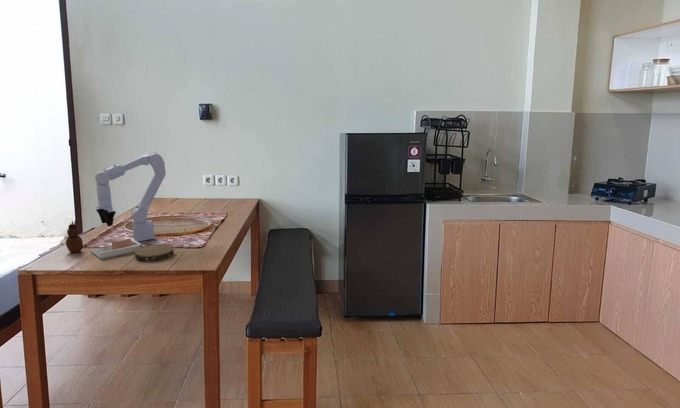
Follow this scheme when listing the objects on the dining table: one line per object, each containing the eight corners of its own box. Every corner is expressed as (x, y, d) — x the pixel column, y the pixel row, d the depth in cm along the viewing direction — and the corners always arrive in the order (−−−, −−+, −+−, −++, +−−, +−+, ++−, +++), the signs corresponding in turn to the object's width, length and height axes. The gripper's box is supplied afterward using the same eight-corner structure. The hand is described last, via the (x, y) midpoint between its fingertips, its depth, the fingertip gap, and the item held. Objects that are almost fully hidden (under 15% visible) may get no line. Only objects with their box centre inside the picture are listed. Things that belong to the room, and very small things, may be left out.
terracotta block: (112, 250, 220) (111, 239, 218) (128, 247, 224) (127, 236, 223) (115, 252, 216) (114, 241, 215) (131, 249, 221) (130, 238, 220)
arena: (130, 243, 232) (129, 237, 231) (142, 250, 221) (142, 244, 220) (90, 251, 220) (89, 245, 219) (101, 259, 209) (100, 252, 208)
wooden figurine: (85, 251, 220) (82, 219, 217) (73, 254, 215) (69, 222, 212) (77, 249, 224) (73, 217, 221) (65, 252, 219) (60, 220, 216)
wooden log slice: (142, 251, 221) (141, 245, 220) (177, 250, 222) (177, 244, 221) (129, 262, 205) (129, 256, 204) (167, 261, 206) (167, 255, 205)
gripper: (90, 195, 231) (93, 223, 234) (100, 200, 220) (103, 228, 223) (106, 193, 236) (108, 220, 238) (116, 197, 225) (119, 225, 228)
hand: (107, 224), depth 231 cm, fingers open, 7 cm apart
